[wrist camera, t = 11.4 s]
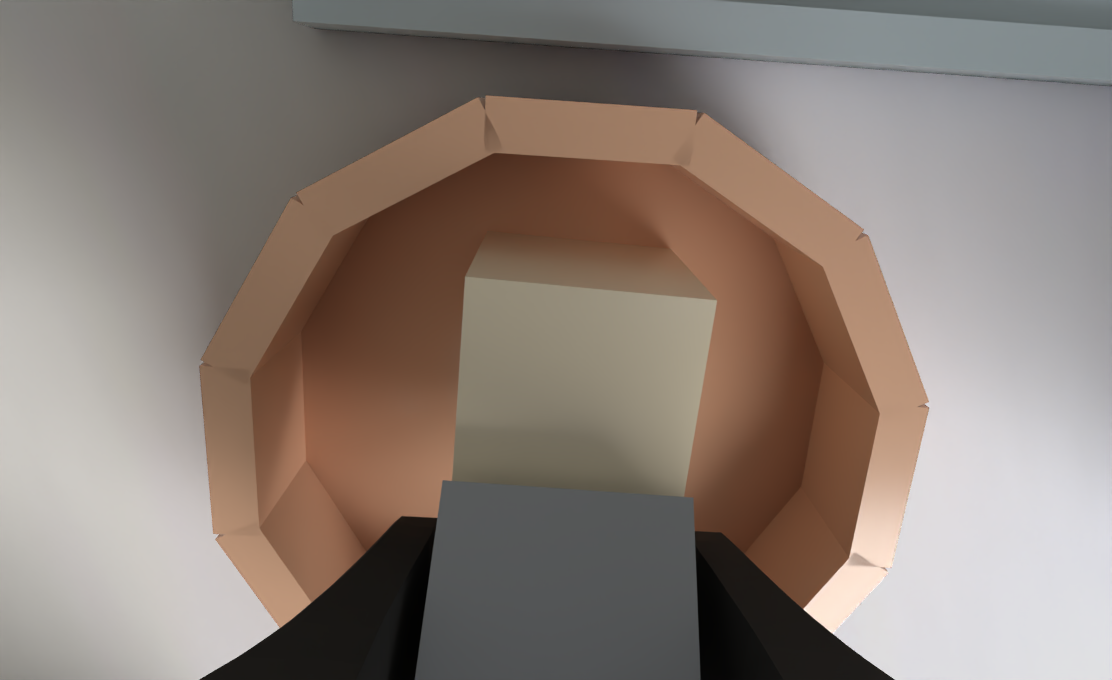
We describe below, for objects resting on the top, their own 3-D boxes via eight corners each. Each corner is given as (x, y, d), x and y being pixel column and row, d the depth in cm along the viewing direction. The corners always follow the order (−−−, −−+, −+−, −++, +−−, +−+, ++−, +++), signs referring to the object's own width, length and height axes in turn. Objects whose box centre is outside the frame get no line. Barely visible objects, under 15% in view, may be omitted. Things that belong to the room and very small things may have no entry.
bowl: (891, 126, 14) (994, 130, 11) (791, 642, 18) (846, 761, 14) (262, 81, 14) (175, 73, 11) (289, 619, 17) (229, 736, 14)
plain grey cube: (693, 497, 10) (706, 843, 8) (652, 558, 13) (655, 823, 11) (442, 480, 10) (394, 824, 8) (459, 546, 13) (427, 808, 11)
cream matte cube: (670, 248, 14) (716, 300, 10) (645, 417, 15) (679, 521, 11) (487, 230, 14) (465, 276, 10) (475, 402, 15) (450, 502, 11)
